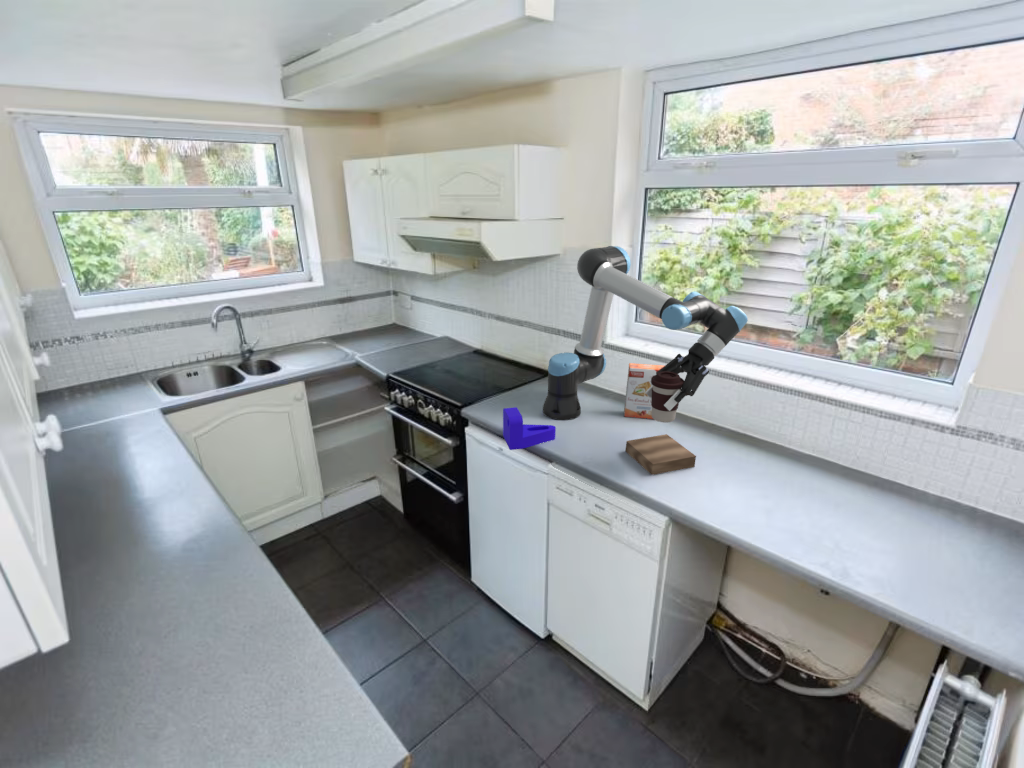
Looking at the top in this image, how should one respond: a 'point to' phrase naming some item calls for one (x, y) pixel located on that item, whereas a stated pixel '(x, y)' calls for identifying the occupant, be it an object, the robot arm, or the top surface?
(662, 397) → the coffee cup
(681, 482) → the top surface
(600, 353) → the robot arm
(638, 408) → the cracker box
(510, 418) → the bracket
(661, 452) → the cup stand
